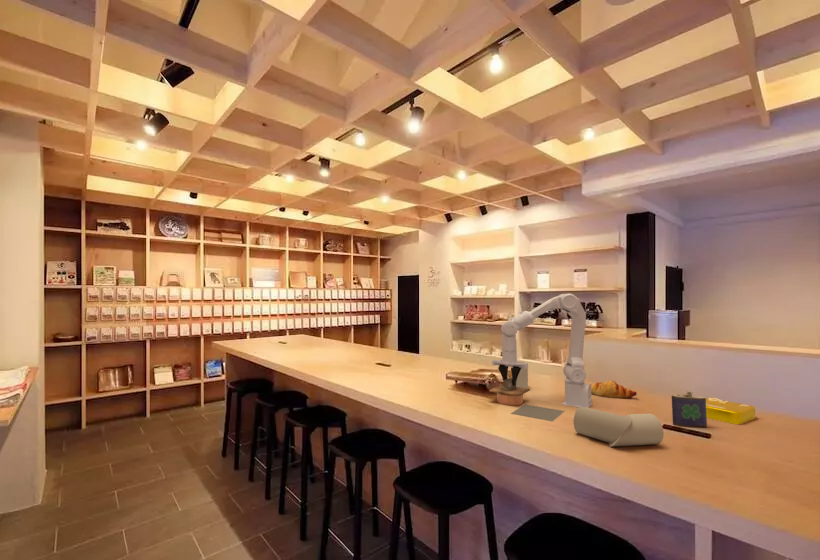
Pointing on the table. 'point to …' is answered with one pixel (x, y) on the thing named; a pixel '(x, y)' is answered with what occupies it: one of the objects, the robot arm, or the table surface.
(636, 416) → the bent grey cylinder
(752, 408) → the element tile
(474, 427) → the table surface
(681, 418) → the flask
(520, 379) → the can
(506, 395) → the bowl
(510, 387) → the lid
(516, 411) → the mat
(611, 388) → the croissant
